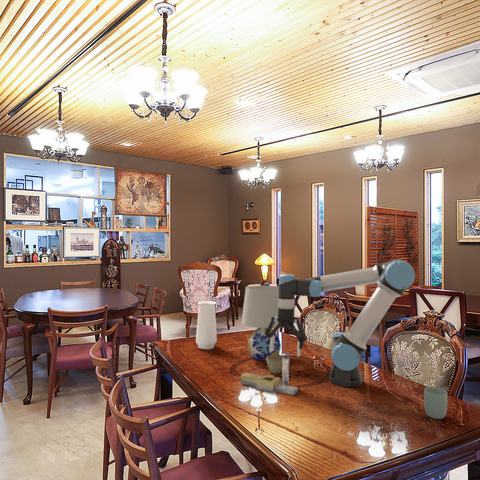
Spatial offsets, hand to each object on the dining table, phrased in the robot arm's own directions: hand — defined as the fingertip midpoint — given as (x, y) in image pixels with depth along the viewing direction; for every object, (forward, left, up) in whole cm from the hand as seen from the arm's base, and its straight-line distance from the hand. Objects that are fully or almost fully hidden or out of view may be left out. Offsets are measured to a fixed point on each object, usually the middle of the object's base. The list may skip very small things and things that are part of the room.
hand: (285, 353), depth 177 cm
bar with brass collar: (+5, +8, -14) cm, 17 cm away
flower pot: (+11, -14, -15) cm, 23 cm away
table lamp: (+28, -36, -15) cm, 48 cm away
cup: (-62, +2, -15) cm, 64 cm away
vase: (+68, -35, -15) cm, 78 cm away
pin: (0, 0, -14) cm, 14 cm away
